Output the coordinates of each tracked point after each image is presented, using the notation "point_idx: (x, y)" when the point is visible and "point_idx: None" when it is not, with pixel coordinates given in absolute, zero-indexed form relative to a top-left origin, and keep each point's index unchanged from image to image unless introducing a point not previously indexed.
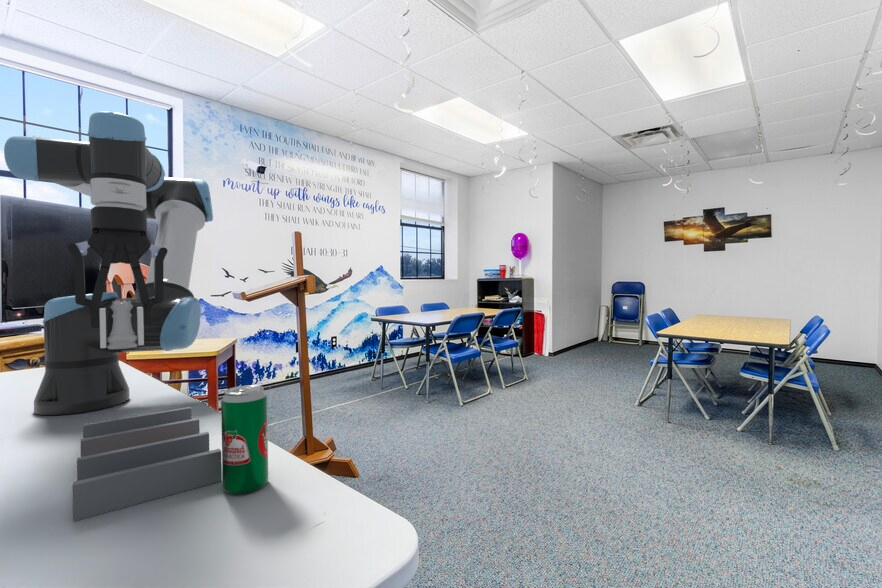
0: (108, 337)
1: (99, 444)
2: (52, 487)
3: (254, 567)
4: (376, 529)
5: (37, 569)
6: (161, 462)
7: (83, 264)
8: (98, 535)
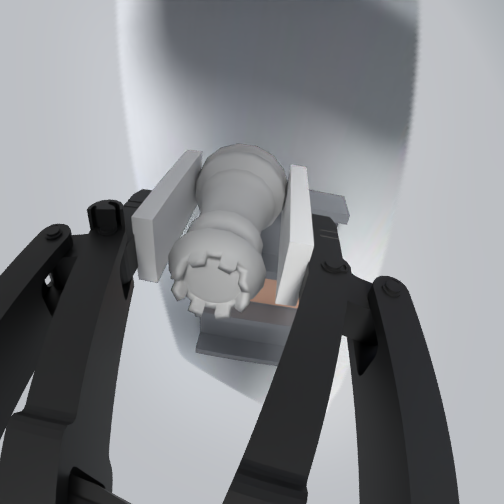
0: (198, 201)
1: None
2: None
3: None
4: None
5: (190, 357)
6: (250, 359)
7: (1, 428)
8: None
